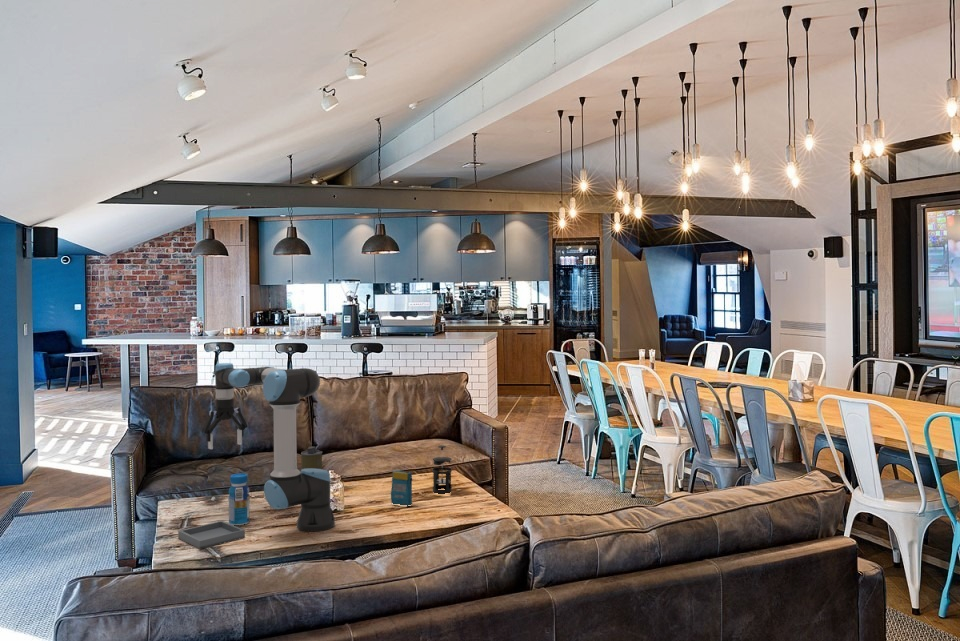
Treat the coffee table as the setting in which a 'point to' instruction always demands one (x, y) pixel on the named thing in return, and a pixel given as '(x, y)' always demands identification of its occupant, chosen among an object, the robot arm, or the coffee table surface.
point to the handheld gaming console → (401, 488)
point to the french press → (436, 475)
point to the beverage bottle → (239, 500)
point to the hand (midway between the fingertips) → (225, 446)
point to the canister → (311, 458)
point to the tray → (211, 534)
